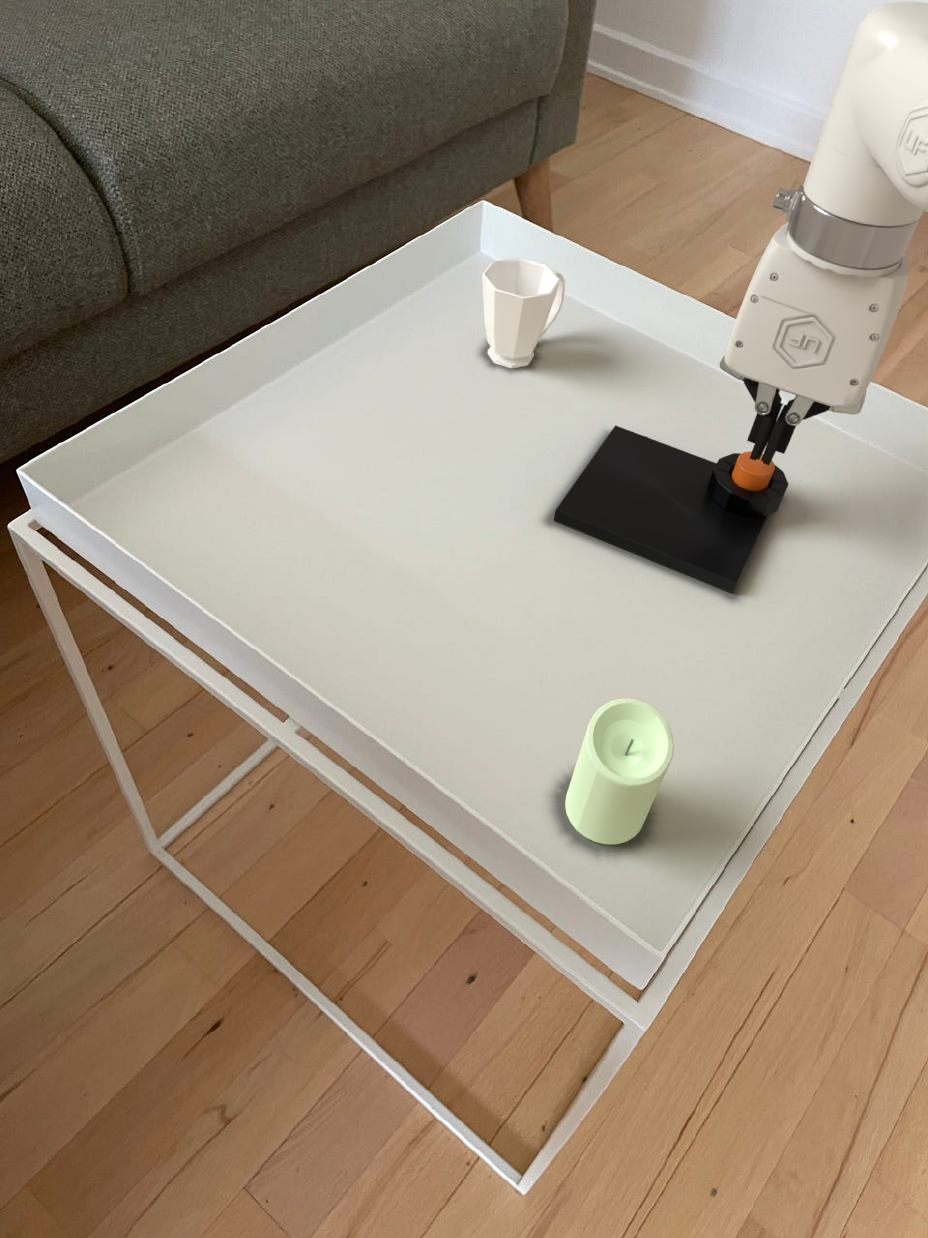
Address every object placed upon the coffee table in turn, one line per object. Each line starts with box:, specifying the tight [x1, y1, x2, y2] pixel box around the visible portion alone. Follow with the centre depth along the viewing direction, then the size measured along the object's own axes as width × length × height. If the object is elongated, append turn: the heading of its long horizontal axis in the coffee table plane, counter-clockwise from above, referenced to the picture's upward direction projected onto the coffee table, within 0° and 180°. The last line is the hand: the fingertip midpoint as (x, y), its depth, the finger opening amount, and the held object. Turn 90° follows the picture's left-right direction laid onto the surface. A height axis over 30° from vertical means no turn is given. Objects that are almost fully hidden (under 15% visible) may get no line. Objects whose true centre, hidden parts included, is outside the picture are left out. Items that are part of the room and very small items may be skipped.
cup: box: [481, 257, 566, 369], centre depth 91 cm, size 7×10×8 cm
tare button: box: [732, 451, 776, 491], centre depth 79 cm, size 3×3×2 cm
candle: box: [564, 697, 675, 845], centre depth 58 cm, size 5×5×8 cm
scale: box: [553, 424, 789, 594], centre depth 79 cm, size 16×13×3 cm
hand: (763, 452), depth 77 cm, fingers closed
